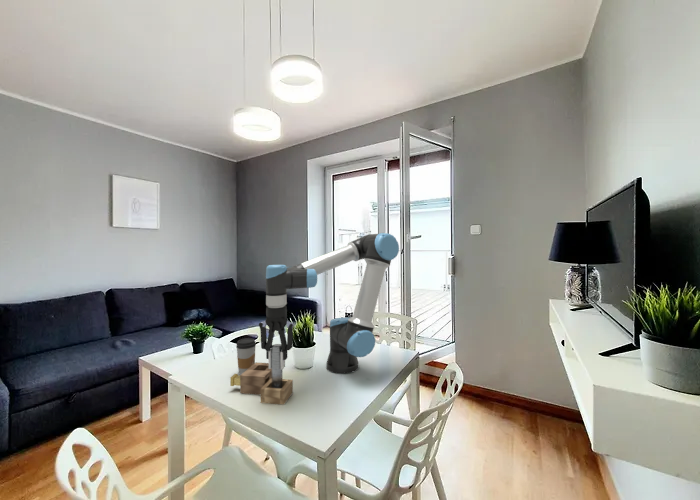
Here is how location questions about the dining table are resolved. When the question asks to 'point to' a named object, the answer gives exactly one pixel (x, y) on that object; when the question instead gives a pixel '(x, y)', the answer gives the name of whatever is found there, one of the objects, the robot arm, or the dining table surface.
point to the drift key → (236, 380)
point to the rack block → (276, 392)
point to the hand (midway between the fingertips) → (276, 367)
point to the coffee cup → (245, 354)
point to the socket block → (255, 378)
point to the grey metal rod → (276, 366)
